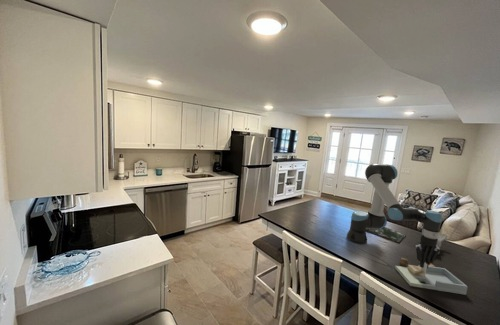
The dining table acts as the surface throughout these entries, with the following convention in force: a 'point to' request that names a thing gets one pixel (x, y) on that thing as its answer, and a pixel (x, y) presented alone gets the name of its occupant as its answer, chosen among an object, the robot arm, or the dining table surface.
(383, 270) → the dining table surface
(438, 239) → the toy
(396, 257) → the dining table surface
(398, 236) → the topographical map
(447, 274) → the tray
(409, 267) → the maple block
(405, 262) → the walnut dowel
